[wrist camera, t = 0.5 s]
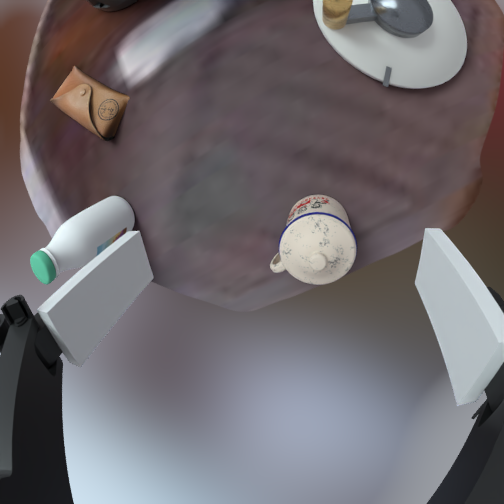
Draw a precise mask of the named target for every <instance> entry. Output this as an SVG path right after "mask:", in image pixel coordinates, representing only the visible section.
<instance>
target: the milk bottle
mask: <svg viewBox="0 0 504 504" xmlns="http://www.w3.org/2000/svg"><path fill="white" fill-rule="evenodd" d="M134 223H135V217H134V213H133V210H132V208H131V206H130V204H129V203H128V202H127V201H126V200H125V199H123V198H121V197H119V196H111V197H108V198H106V199H104V200H102V201H100V202H98V203H96V204H95V205H93V206H91V207H89V208H87V209H85V210H84V211H82V212H80V213H78V214H77V215H75V216H73V217H72V218H70V219H69V220H67V221H66V222H65V223H64V224H62V225H61V226H60V228H59V229H58V230H57V232H56V233H55V235H54V237H53V239H52V240H51V242H50V243H49V245H48V246H47V247H46V248H42V249H40V251H37V252H36V253H34V254H33V255H32V256H31V267H32V270H33V271H34V274H35V275H36V277H37V278H38V279H39V280H40V281H41V282H42V283H44V284H49V283H51V282H52V281H53V280H54V279H55V278H56V277H58V275H59V273H60V272H62V271H65V270H69V269H76V268H80V267H83V266H86V265H87V264H88V263H89V262H90V261H92V260H93V259H94V258H95V257H96V256H98V255H99V254H100V253H101V252H103V251H104V250H105V249H106V248H108V247H109V246H110V245H111V244H113V243H114V242H115V241H116V240H118V239H119V238H120V237H122V236H123V235H124V234H125V233H127V232H128V231H132V229H133V227H134Z"/></svg>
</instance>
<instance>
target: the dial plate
mask: <svg viewBox="0 0 504 504" xmlns="http://www.w3.org/2000/svg"><path fill="white" fill-rule="evenodd" d="M427 1H428V3H429V4H430V6H431V8H432V11H433V23H432V25H431V26H430V27H429V28H428V29H427V30H426V31H424V32H423V33H421V34H420V35H419V36H417V37H414V38H402V37H398V36H395V35H392V34H390V33H388V32H387V31H385V30H384V29H382V28H381V27H380V26H379V25H378V24H377V23H376V22H375V21H368V22H360V23H353V24H347V25H345V26H344V27H343V28H341V29H337V30H335V29H331V28H328V27H327V26H326V25H325V24H324V23H323V21H322V7H323V0H313V7H314V14H315V18H316V21H317V23H318V26H319V28H320V30H321V32H322V34H323V36H324V37H325V38H326V40H327V41H328V43H329V44H330V45H331V46H332V48H333V49H334V50H335V51H336V52H337V53H338V54H339V55H340V56H341V57H342V58H343V59H344V60H345V61H347V62H348V63H349V64H351V65H352V66H353V67H354V68H356V69H358V70H359V71H361V72H362V73H364V74H366V75H368V76H369V77H371V78H373V79H376V80H378V81H380V82H383V86H386V87H388V85H392V86H396V87H401V88H409V89H422V88H428V87H433V86H437V85H440V84H443V83H444V82H446V81H448V80H450V79H451V78H452V77H453V76H455V75H456V74H457V72H458V71H459V70H460V68H461V67H462V65H463V63H464V60H465V57H466V52H467V37H466V31H465V28H464V24H463V22H462V19H461V17H460V15H459V13H458V11H457V9H456V8H455V6H454V4H453V3H452V2H451V0H427ZM366 3H368V0H353V2H352V5H357V4H366Z"/></svg>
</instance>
